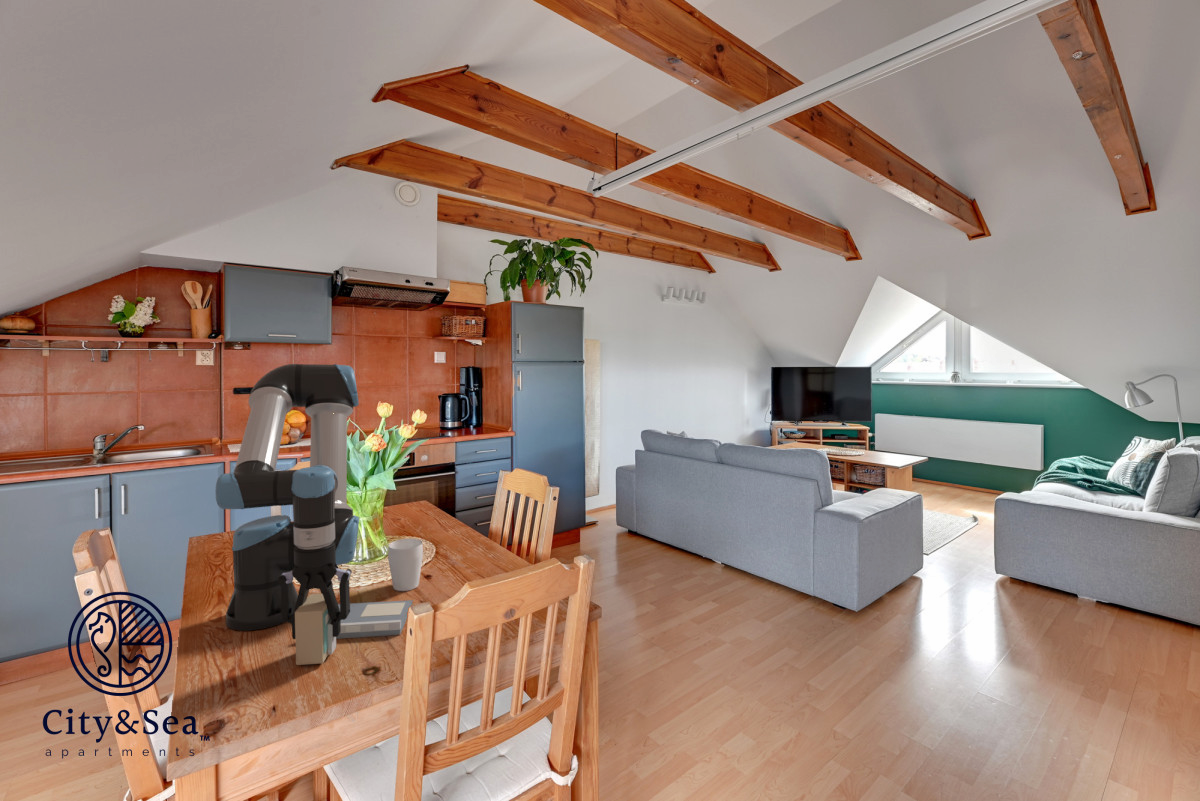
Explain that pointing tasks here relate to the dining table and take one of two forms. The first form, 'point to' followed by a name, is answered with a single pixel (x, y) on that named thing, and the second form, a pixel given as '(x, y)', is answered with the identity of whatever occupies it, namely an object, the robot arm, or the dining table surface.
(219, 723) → the dining table surface
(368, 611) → the grey flat rectangular block
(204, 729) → the dining table surface
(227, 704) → the dining table surface
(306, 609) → the tea box
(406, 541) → the cup
